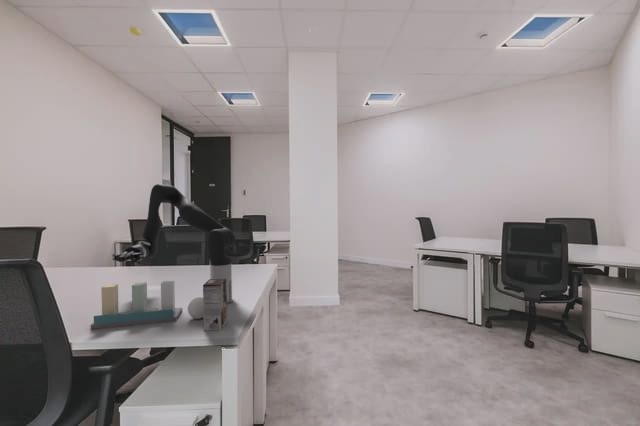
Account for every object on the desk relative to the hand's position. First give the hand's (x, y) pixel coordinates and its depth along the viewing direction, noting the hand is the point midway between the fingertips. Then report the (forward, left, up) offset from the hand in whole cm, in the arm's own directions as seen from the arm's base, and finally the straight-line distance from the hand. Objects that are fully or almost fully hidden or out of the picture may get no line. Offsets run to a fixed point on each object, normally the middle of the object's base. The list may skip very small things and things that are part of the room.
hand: (120, 259), depth 126 cm
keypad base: (-10, +11, -22) cm, 27 cm away
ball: (-32, +16, -22) cm, 42 cm away
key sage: (-10, +11, -20) cm, 25 cm away
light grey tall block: (-20, +11, -20) cm, 31 cm away
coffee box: (-39, +26, -22) cm, 52 cm away
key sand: (0, +11, -20) cm, 23 cm away
